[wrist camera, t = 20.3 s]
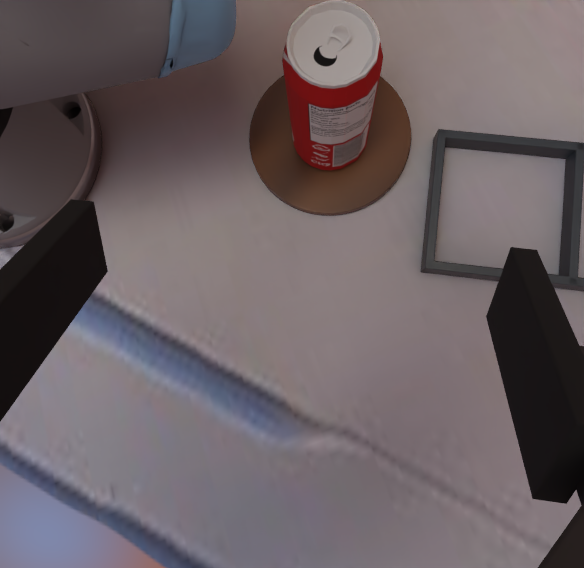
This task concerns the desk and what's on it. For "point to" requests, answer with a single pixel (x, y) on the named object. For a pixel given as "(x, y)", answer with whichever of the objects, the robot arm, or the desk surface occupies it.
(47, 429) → the desk surface
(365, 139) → the soda can
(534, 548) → the desk surface
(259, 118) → the coaster
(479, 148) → the rack
